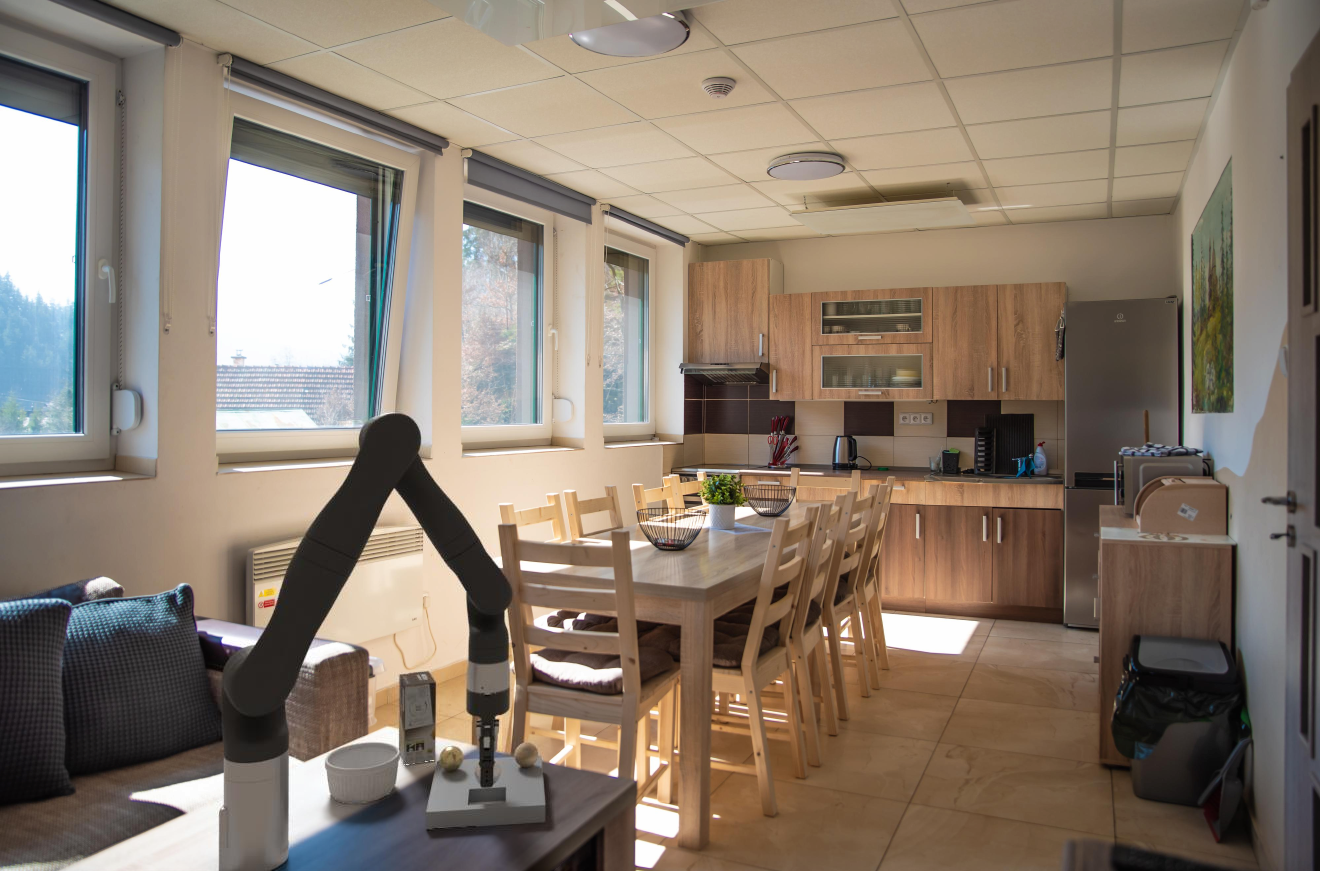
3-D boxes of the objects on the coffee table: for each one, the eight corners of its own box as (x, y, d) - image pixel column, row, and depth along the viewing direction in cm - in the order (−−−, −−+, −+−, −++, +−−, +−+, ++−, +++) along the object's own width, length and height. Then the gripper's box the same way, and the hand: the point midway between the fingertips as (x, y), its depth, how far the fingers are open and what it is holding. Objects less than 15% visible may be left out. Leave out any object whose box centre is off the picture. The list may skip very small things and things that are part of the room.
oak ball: (514, 771, 163) (514, 748, 163) (514, 762, 168) (514, 739, 168) (538, 770, 164) (538, 746, 164) (537, 761, 169) (538, 738, 168)
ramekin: (308, 798, 158) (308, 760, 158) (362, 771, 170) (362, 736, 170) (362, 813, 152) (363, 774, 152) (414, 785, 164) (415, 749, 164)
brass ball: (437, 775, 161) (438, 751, 161) (440, 766, 165) (440, 742, 165) (462, 774, 162) (463, 750, 162) (464, 764, 166) (464, 741, 166)
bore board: (425, 829, 146) (426, 812, 146) (437, 776, 168) (437, 760, 168) (545, 822, 150) (545, 804, 150) (541, 770, 171) (541, 755, 171)
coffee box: (436, 761, 175) (437, 682, 175) (403, 766, 173) (404, 686, 172) (428, 745, 184) (429, 670, 183) (397, 749, 181) (397, 673, 181)
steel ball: (473, 791, 150) (474, 765, 150) (474, 780, 155) (475, 755, 155) (500, 789, 151) (500, 764, 151) (500, 778, 155) (500, 754, 155)
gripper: (468, 673, 159) (467, 765, 159) (464, 698, 145) (463, 799, 145) (510, 671, 160) (508, 763, 161) (509, 696, 146) (508, 797, 146)
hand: (487, 780), depth 153 cm, fingers closed on steel ball, 4 cm apart
